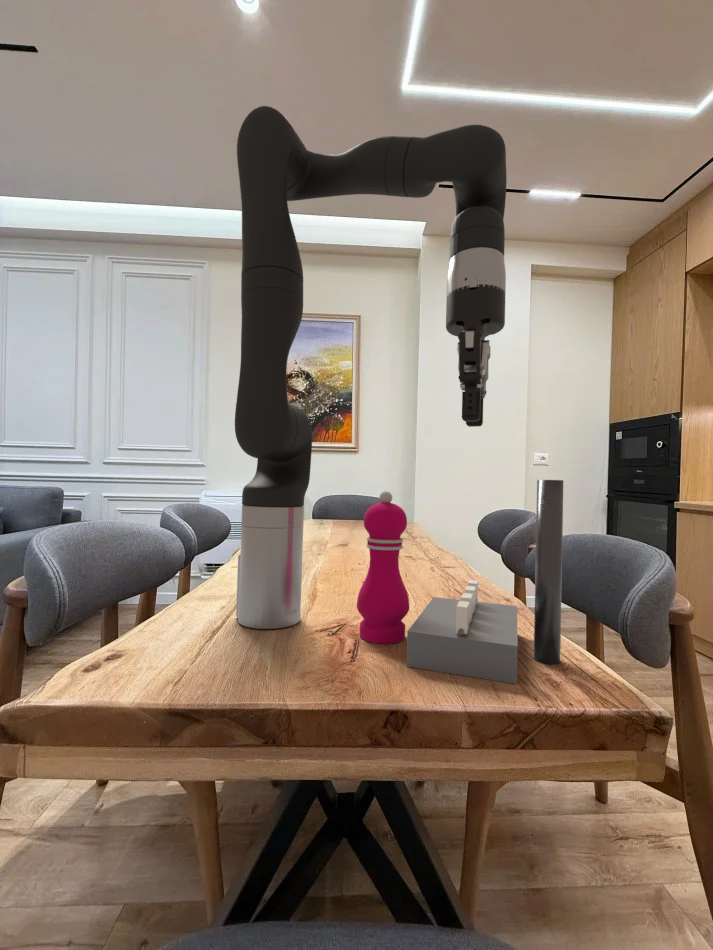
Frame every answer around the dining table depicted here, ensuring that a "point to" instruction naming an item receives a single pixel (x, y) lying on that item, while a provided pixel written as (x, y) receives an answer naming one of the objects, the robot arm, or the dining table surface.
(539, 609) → the black cord post
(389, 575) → the pepper mill
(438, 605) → the breaker panel
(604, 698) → the dining table surface
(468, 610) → the breaker paddles
